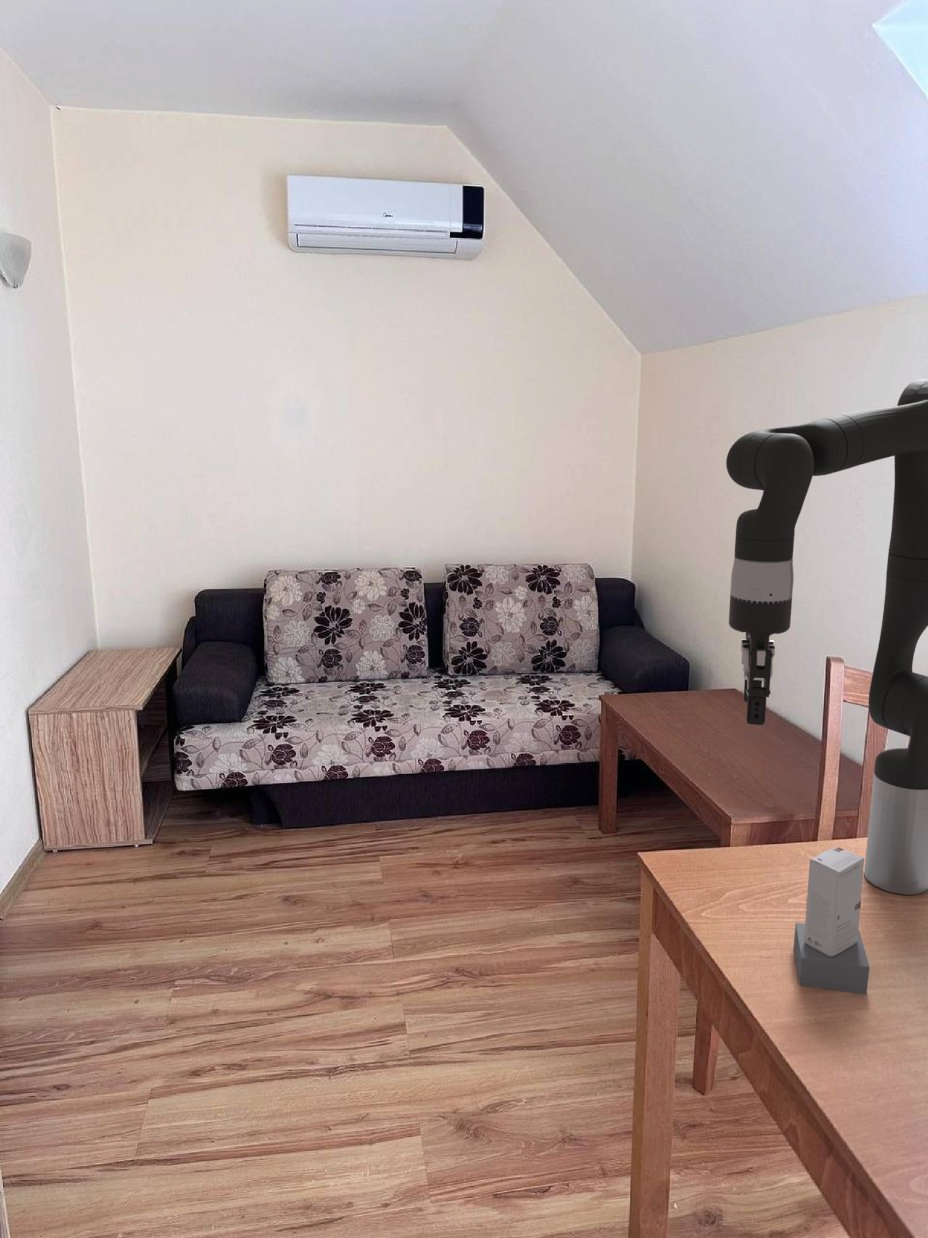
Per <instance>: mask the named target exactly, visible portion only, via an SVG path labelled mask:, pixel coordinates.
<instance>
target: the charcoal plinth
mask: <svg viewBox="0 0 928 1238" xmlns="http://www.w3.org/2000/svg"><path fill="white" fill-rule="evenodd" d="M860 932H861V931H860V930H859V929H858V940H857V942H856V943H855V944H853V945H852V946H850V947H849V948H847V949H846V950H844V951H842V952H840V953H838V954H837V955H835V956H832V957H830V956H828V955H826V954H824V953H822V952H820V951H818V950H816V949H814V948H813V947H811V946H809V945H808V944H806V943H805V942H804V933H805V923H804V922H803V923H802V922H795V929H794V940H793V952H794V953H793V954H794V959H795V965H796V966H795V967H796V972H797V978H798V985H799V986H802V987H803V986H804V987H809V988H817V989H823V990H831V991H840V992H846V993H852V994H861V995H868V987H869V978H870V969H871V968H870V963H869V960H868V957H867V953H866V950H865V947H864V943H863V939H862V936H861V933H860Z"/></svg>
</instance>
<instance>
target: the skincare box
mask: <svg viewBox="0 0 928 1238" xmlns="http://www.w3.org/2000/svg"><path fill="white" fill-rule="evenodd" d="M808 867H809V868H808V882H807V883H808V884H807V895H806V896H807V897H806V911H805V921H804V922H805V923H804V924H805V933H804V942H805V943H806V944H808V945H809V946H811V947H813V948H814V949H816V950H818V951H820V952H822V953H824V954H826V955H828V956H830V957H832V956H835V955H837V954H838V953H840V952H842V951H844V950H846V949H847V948H849V947H850V946H852V945H853V944H855V943H856V942H857V940H858V930H859V929H860V928H859V927H860V926H859V925H860V914H861V902H862V891H863V879H864V878H863V876H864V868H865V858H864V857H863V856H860V855H859V854H856V853H854V852H851V851H848V850H845V849H843V848H841V847H838V846H835V847H833V848H830V849H829V850H825V851H822V852H820V853H819V854H818V855H815V856H814V857H812V858H810V860H809V865H808Z"/></svg>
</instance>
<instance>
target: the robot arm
mask: <svg viewBox="0 0 928 1238" xmlns="http://www.w3.org/2000/svg"><path fill="white" fill-rule="evenodd" d="M890 457H891V458H892V457H894V489H893V490H894V491H893V492H894V493H893V504H892V520H891V531H890V532H891V533H890V539H889V540H890V541H889V546H888V553H887V554H888V555H887V563H886V576H885V590H884V591H885V592H884V602H883V603H884V604H883V613H882V621H881V627H880V629H881V630H880V635H879V641H878V645H877V652H876V657H875V661H874V666H873V672H872V674H871V681H870V686H869V692H868V693H869V694H868V712H869V715H870V716H869V717H870V718H871V719H872V721H873V722H874V723H875V724H876V725H878V726H880V727H882V728H885V729H887V730H890V731H894V732H896V733H898V734H901V735H905V736H908V737H910V739H909V743H908V746H907V747H904V748H903V747H902V748H900V747H899V748H890V749H886V750H883V751H881V752H879V753H878V754H877V756H876V757H875V761H874V770H873V779H872V789H871V790H872V792H871V801H870V808H869V809H870V812H869V821H868V830H867V831H868V832H867V837H866V838H867V841H866V849H865V858H864V867H863V876H864V877H865V878H866V880H867V881H868V882H869V883H871V884H872V885H874V886H875V887H877V888H879V889H882V890H884V891H887V892H890V893H894V894H898V895H920V894H922V893H925V892H926V891H928V676H927V675H925V674H921V673H917V672H913V663H914V658H915V657H914V656H915V651H916V648H917V644H918V642H919V640H920V637H921V636H922V634H923V633H924V631H925V630H926V629H927V628H928V378H920V379H916V380H914V381H912V382H909V384H908V385H907V386H906V387H905V388H904V389H903V391H902V393H901V394H900V396H899V398H898V401H897V404H896V406H888V407H886V406H885V407H878V408H876V407H875V408H868V409H862V410H861V409H860V410H853V411H849V412H843V413H838V414H834V415H831V416H828V417H823V418H820V419H817V420H812V421H811V422H807V423H803V424H798V425H797V424H796V425H789V426H787V425H786V426H779V427H772V428H766V429H760V430H755V431H752V432H749V433H746V434H744V435H742V436H741V437H739V438H738V439H737V440H736V441H735V442H734V443H733V444H732V446H731V447H730V448H729V450H728V453H727V455H726V460H725V461H726V462H725V465H726V471H727V472H728V473H727V474H728V475H729V477H730V479H732V481H733V482H734V483H735V484H737V485H738V486H740V487H743V488H745V489H749V490H750V489H751V490H758V491H763V492H762V494H761V495H762V496H761V499H760V502H759V504H758V506H757V508H754V509H749V510H745V511H744V512H742V513H741V514H740V515H739V516H738V518H737V521H736V525H735V526H736V528H735V541H734V559H733V566H732V569H731V576H730V577H731V578H730V594H729V611H728V612H729V614H728V625H729V626H730V629H732V630H735V631H737V632H739V633H745V638H742V639H741V642H740V647H741V648H740V651H741V664H742V665H743V667H742V670H743V671H742V672H743V678H744V683H743V685H744V687H743V688H744V689H743V701H744V702H745V703H746V704H747V705H746V723H747V724H748V725H755V726H756V725H757V726H763V725H764V724H765V722H766V709H767V698H769V697H770V695H771V690H770V689H771V688H770V687H771V681H772V678H773V671H774V670H773V668H774V667H773V665H774V663H773V660H774V658H775V654H776V650H775V649H776V646H775V645H774V640H770V637H771V636H772V635H779V634H784V633H786V632H788V631H789V629H790V628H791V622H792V621H791V620H792V619H791V617H792V608H793V607H792V605H793V591H794V579H795V578H794V546H795V532H796V531H795V529H796V525H797V522H798V520H799V517H800V515H801V512H802V509H803V506H804V503H805V499H806V497H807V495H808V491H809V488H810V486H811V483H812V479H813V477H821V476H826V475H831V474H834V473H838V472H841V471H845V470H848V469H852V468H855V467H857V466H861V465H865V464H868V463H872V462H875V461H879V460H884V459H887V458H890Z"/></svg>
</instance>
